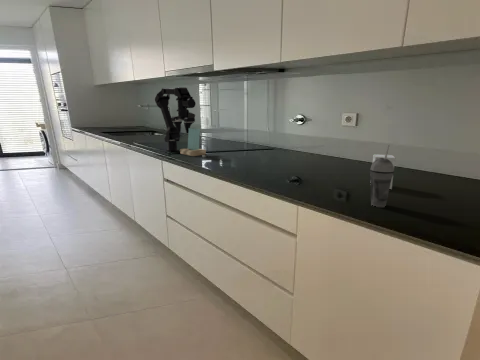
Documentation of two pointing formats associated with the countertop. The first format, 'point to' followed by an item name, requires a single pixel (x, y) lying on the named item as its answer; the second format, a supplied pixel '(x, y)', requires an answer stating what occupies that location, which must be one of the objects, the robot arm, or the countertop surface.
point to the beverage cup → (381, 180)
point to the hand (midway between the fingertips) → (183, 132)
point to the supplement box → (390, 157)
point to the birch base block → (193, 152)
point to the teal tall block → (193, 138)
